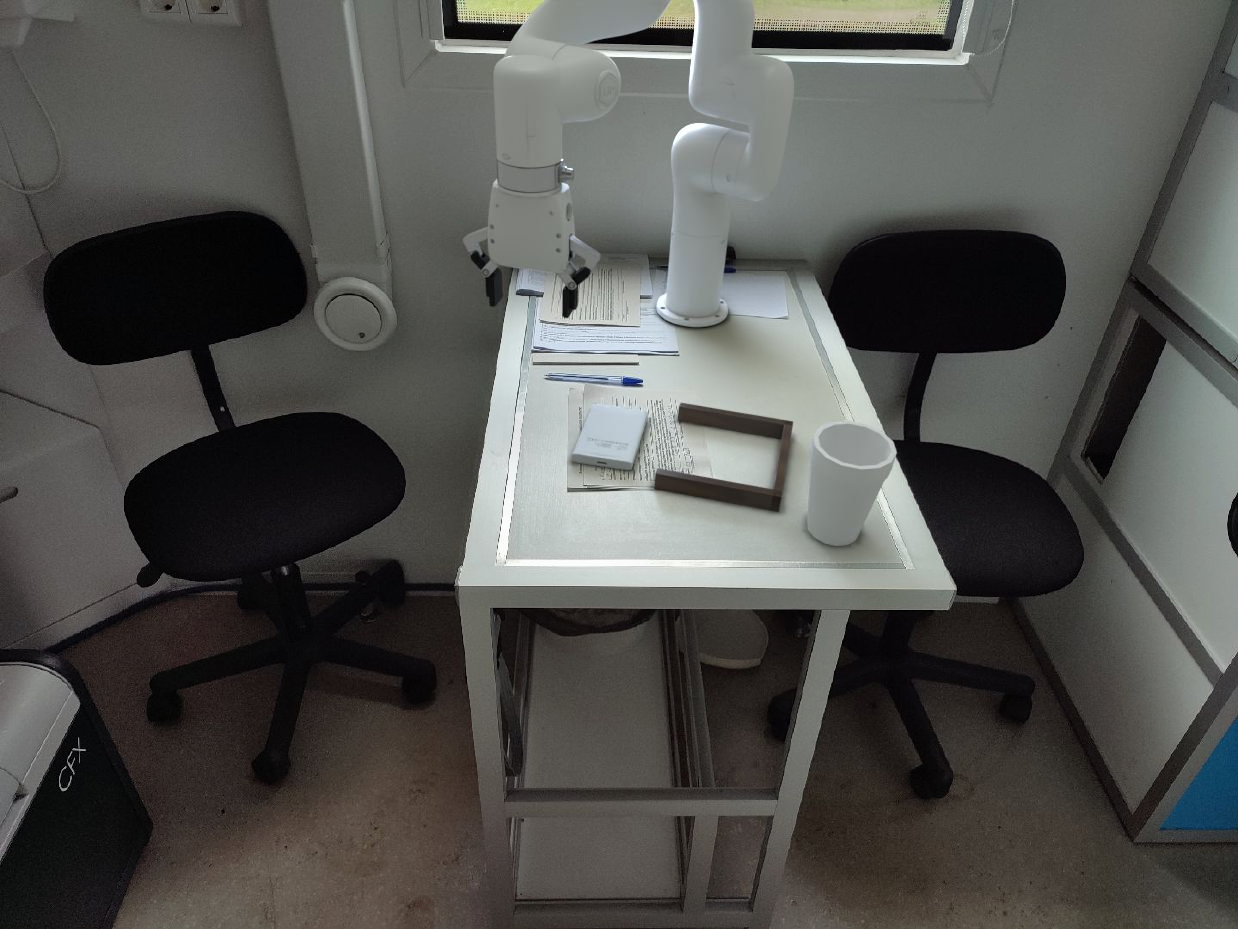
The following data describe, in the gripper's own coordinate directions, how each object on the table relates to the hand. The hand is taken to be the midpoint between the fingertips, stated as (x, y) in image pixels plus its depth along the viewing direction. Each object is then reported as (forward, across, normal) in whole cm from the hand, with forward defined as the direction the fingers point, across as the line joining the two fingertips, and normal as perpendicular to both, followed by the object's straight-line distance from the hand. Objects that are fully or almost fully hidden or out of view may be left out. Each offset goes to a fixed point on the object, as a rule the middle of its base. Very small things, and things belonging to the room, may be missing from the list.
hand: (532, 307), depth 110 cm
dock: (+19, -27, 0) cm, 33 cm away
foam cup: (+19, -42, +10) cm, 47 cm away
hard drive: (+19, -11, 0) cm, 22 cm away
